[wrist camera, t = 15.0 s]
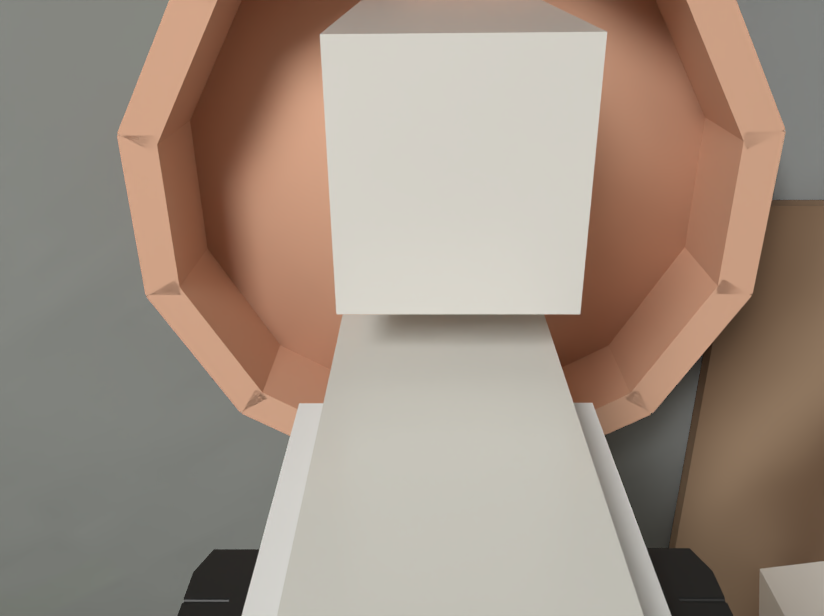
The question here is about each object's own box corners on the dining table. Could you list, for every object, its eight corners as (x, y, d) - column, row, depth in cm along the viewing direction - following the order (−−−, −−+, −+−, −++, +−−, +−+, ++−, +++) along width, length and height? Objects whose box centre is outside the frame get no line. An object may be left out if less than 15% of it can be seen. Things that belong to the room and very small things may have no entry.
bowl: (772, -141, 20) (844, -159, 16) (679, 408, 27) (715, 475, 24) (127, -132, 20) (66, -148, 17) (208, 407, 27) (177, 473, 24)
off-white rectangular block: (543, 313, 16) (690, 756, 7) (531, 489, 19) (633, 1002, 10) (342, 314, 17) (246, 753, 8) (352, 489, 19) (286, 998, 10)
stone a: (528, -7, 21) (607, 31, 12) (519, 167, 23) (580, 314, 14) (367, -5, 21) (319, 33, 12) (373, 167, 23) (336, 314, 14)
